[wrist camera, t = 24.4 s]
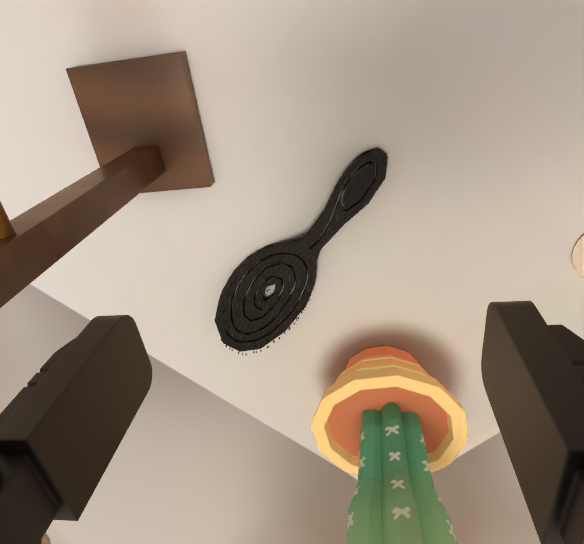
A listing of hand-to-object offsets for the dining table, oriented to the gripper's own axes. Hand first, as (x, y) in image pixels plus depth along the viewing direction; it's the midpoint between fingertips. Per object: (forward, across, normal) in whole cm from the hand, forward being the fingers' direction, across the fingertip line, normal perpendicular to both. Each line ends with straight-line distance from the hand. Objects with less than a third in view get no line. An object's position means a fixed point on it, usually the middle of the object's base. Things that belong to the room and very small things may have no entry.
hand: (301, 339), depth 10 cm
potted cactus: (+30, -3, +30) cm, 43 cm away
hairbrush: (+30, +5, +13) cm, 33 cm away
